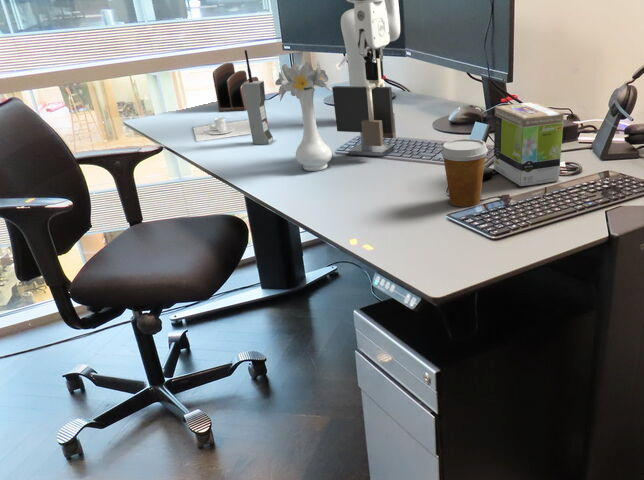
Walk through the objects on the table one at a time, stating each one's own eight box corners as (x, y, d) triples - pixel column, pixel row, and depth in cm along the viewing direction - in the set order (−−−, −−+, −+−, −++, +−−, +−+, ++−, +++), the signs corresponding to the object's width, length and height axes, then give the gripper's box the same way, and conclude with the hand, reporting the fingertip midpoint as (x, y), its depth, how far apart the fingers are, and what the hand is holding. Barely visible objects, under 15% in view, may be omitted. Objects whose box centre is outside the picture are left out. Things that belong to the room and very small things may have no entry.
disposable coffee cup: (439, 196, 142) (437, 140, 135) (482, 192, 142) (482, 136, 136) (445, 211, 134) (444, 152, 127) (491, 207, 134) (492, 148, 128)
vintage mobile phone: (269, 144, 189) (253, 50, 176) (253, 144, 190) (236, 51, 177) (273, 141, 192) (258, 48, 179) (257, 141, 193) (241, 49, 180)
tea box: (560, 181, 145) (565, 112, 137) (519, 188, 143) (522, 118, 135) (530, 164, 157) (533, 99, 149) (492, 170, 155) (492, 105, 147)
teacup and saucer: (208, 130, 209) (205, 117, 207) (232, 127, 211) (230, 114, 209) (210, 136, 202) (207, 123, 200) (235, 133, 204) (233, 119, 202)
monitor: (350, 147, 181) (344, 82, 172) (403, 150, 175) (399, 82, 166) (339, 154, 176) (331, 87, 166) (393, 157, 170) (388, 88, 161)
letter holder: (219, 111, 233) (210, 69, 226) (237, 99, 250) (230, 60, 242) (245, 110, 232) (237, 68, 224) (262, 98, 248) (255, 58, 241)
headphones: (378, 135, 174) (372, 55, 164) (395, 136, 173) (390, 55, 162) (363, 145, 167) (355, 62, 157) (380, 146, 165) (374, 62, 155)
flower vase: (325, 154, 176) (313, 54, 163) (349, 171, 162) (338, 62, 148) (279, 163, 172) (262, 60, 158) (299, 181, 158) (283, 70, 144)
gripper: (368, -3, 144) (375, 85, 154) (396, -9, 156) (401, 73, 166) (338, -2, 147) (347, 85, 157) (368, -8, 159) (374, 73, 169)
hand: (374, 78), depth 162 cm, fingers closed
